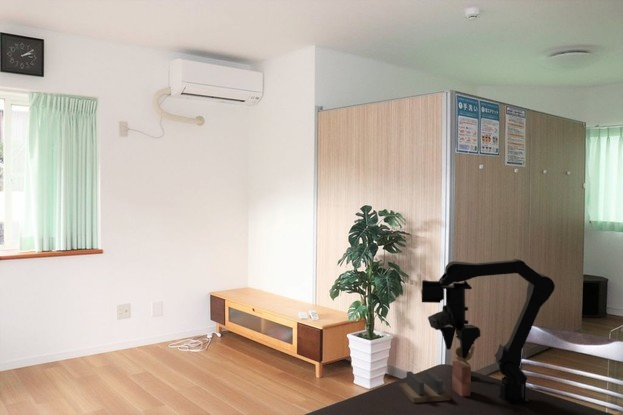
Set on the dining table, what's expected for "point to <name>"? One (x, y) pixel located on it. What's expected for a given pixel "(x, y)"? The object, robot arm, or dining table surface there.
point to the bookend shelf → (424, 388)
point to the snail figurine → (468, 357)
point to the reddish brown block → (461, 378)
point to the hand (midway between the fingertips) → (456, 353)
